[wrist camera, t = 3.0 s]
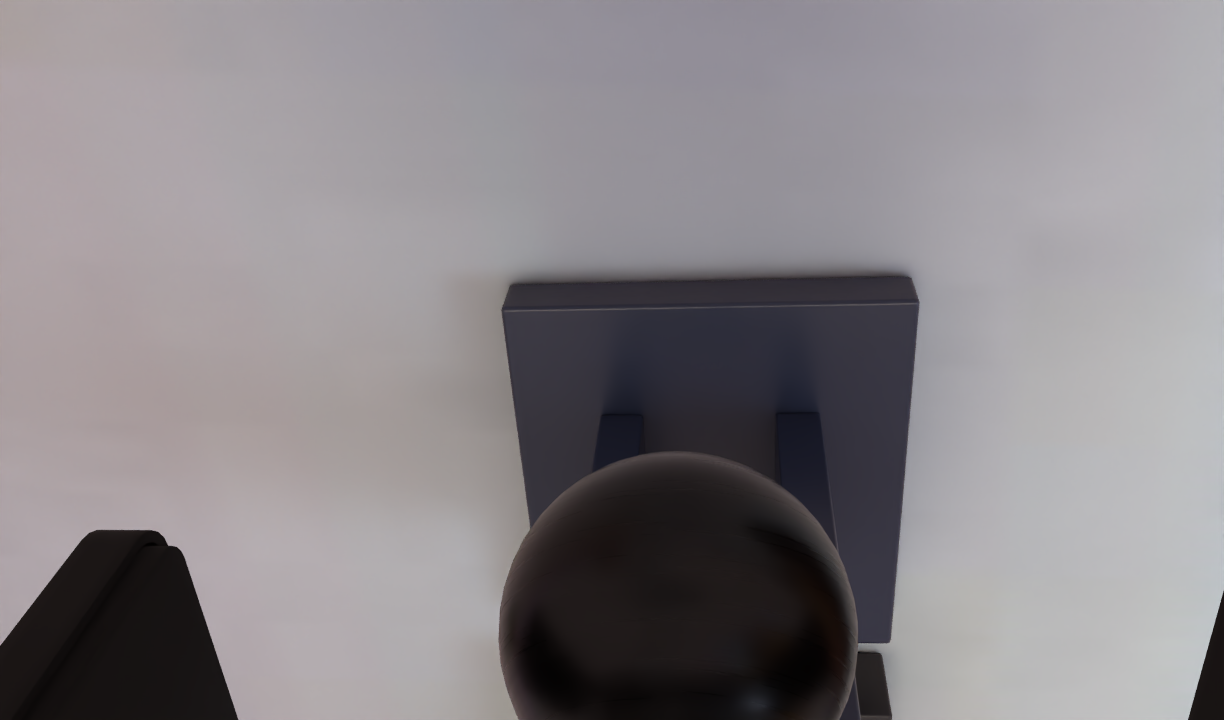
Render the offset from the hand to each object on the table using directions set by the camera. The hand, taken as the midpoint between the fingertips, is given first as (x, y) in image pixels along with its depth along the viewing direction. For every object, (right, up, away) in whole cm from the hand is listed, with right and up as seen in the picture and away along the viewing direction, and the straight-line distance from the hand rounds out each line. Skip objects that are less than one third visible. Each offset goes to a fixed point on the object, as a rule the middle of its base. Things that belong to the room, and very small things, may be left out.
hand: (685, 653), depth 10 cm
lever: (0, -1, +5) cm, 5 cm away
